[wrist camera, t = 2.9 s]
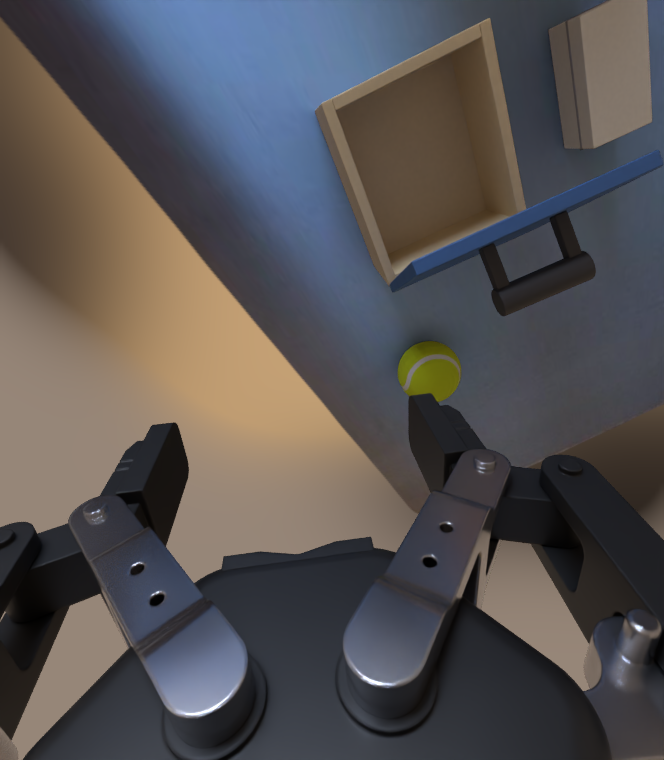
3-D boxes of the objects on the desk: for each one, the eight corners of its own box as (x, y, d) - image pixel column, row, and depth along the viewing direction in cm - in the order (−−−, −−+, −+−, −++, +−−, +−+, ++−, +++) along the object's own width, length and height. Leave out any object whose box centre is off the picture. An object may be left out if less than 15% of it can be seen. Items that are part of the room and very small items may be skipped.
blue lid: (410, 261, 22) (445, 346, 22) (659, 148, 20) (690, 242, 21) (388, 284, 37) (409, 334, 38) (530, 220, 36) (550, 273, 36)
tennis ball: (396, 330, 47) (412, 356, 42) (454, 332, 48) (478, 358, 42) (387, 383, 51) (401, 414, 45) (442, 385, 51) (463, 415, 46)
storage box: (314, 111, 37) (320, 103, 31) (453, 40, 36) (490, 17, 29) (374, 266, 44) (389, 286, 37) (492, 212, 42) (529, 224, 36)
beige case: (547, 29, 36) (578, 15, 32) (607, -1, 35) (647, -19, 31) (563, 149, 40) (593, 150, 36) (617, 124, 40) (653, 122, 36)
